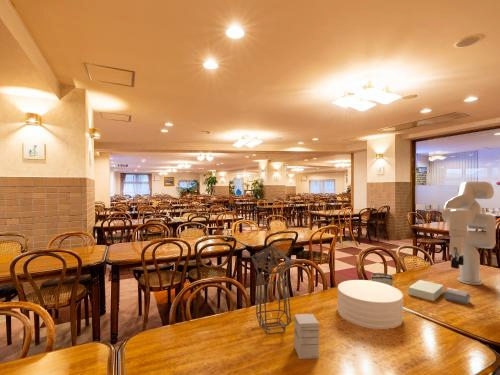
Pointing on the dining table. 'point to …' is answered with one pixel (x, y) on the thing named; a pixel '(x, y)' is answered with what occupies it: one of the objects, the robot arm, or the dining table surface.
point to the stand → (426, 290)
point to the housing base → (457, 298)
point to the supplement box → (306, 336)
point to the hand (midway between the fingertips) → (457, 266)
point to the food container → (382, 278)
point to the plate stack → (370, 304)
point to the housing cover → (457, 292)
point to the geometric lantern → (272, 282)
